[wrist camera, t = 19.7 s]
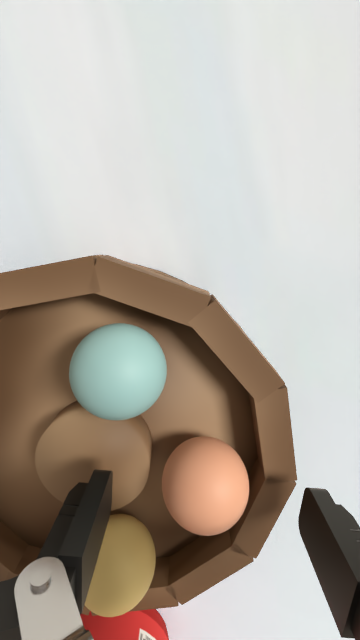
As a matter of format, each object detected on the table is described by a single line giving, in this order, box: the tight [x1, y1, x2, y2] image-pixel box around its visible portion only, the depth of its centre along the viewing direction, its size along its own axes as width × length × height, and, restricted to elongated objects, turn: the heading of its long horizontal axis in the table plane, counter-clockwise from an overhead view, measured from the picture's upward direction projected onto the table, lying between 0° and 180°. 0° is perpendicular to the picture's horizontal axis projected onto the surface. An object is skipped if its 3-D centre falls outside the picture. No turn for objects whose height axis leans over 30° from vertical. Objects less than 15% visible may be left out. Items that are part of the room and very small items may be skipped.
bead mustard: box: [85, 514, 156, 617], centre depth 14 cm, size 4×4×4 cm
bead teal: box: [69, 323, 167, 420], centre depth 12 cm, size 4×4×4 cm
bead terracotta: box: [162, 436, 249, 536], centre depth 13 cm, size 4×4×4 cm
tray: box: [0, 255, 297, 616], centre depth 15 cm, size 18×18×3 cm
